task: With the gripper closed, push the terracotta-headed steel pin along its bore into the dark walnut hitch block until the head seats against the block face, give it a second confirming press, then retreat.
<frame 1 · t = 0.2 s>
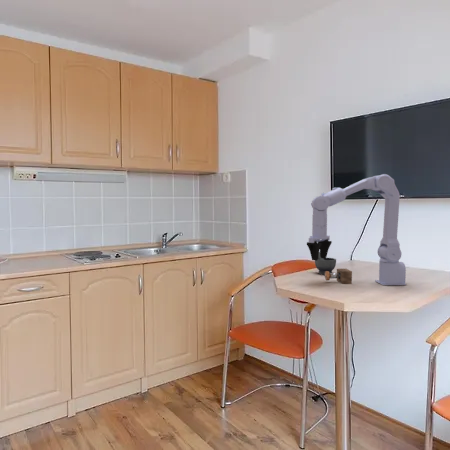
hand: (319, 259, 159), 10 cm above the table, fingers open, 7 cm apart
mortar and pestle: (323, 274, 181), on the table
hitch block: (344, 281, 162), on the table
pin: (333, 275, 162), point 3 cm above the table, slide at 0.0 cm
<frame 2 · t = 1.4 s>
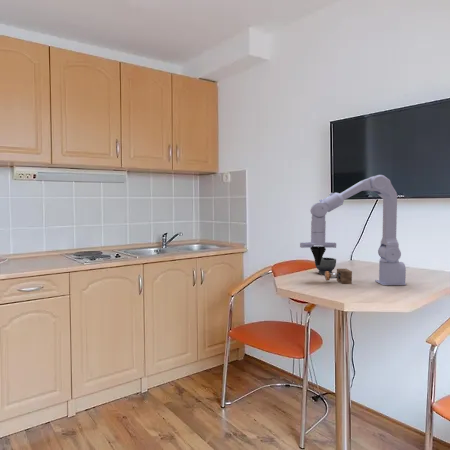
hand: (317, 265, 161), 7 cm above the table, fingers closed
nothing on the table moved.
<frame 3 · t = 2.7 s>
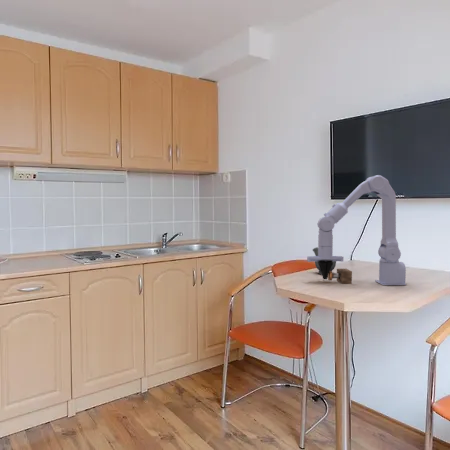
hand: (324, 278, 162), 1 cm above the table, fingers closed
pin: (335, 275, 162), point 3 cm above the table, slide at 1.1 cm, touching gripper
everything else where it was.
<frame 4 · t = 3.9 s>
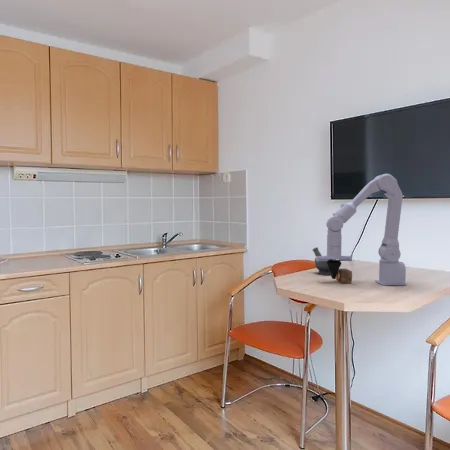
hand: (333, 278, 162), 1 cm above the table, fingers closed
pin: (344, 275, 162), point 3 cm above the table, slide at 4.5 cm, touching gripper
everything else where it was.
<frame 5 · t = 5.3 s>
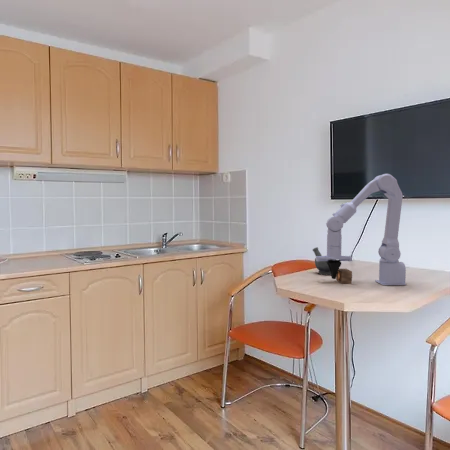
hand: (333, 278, 162), 1 cm above the table, fingers closed
nothing on the table moved.
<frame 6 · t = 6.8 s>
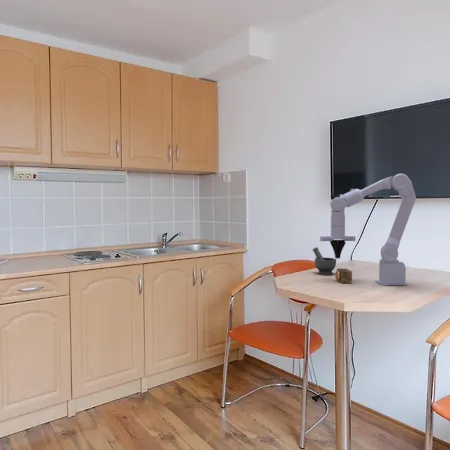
hand: (337, 258, 166), 9 cm above the table, fingers closed
pin: (344, 275, 162), point 3 cm above the table, slide at 4.4 cm
everything else where it was.
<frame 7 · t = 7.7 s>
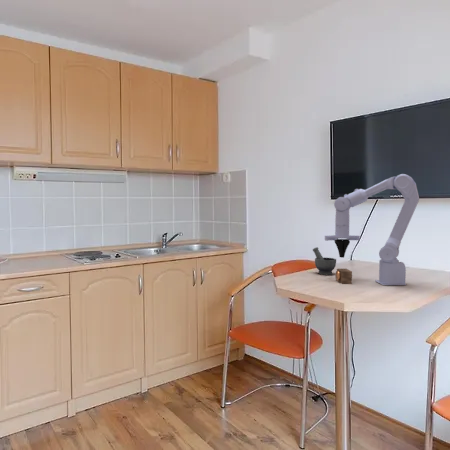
hand: (341, 257, 168), 9 cm above the table, fingers closed
nothing on the table moved.
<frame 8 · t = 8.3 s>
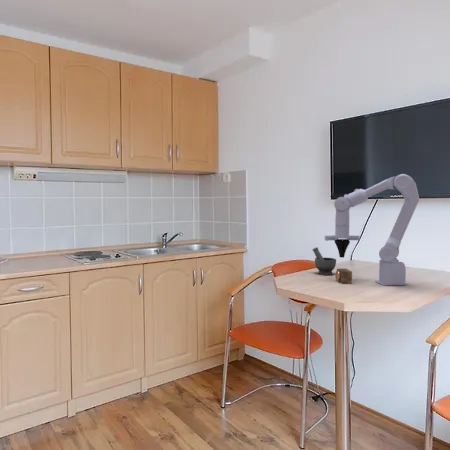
hand: (341, 257, 168), 9 cm above the table, fingers closed
nothing on the table moved.
at the end: pin slide at 4.4 cm; the gripper is holding nothing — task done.
